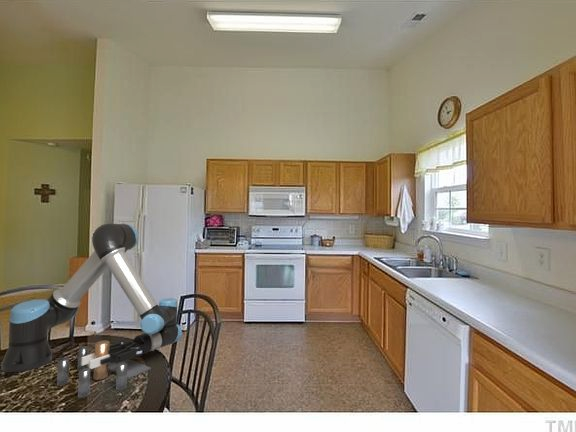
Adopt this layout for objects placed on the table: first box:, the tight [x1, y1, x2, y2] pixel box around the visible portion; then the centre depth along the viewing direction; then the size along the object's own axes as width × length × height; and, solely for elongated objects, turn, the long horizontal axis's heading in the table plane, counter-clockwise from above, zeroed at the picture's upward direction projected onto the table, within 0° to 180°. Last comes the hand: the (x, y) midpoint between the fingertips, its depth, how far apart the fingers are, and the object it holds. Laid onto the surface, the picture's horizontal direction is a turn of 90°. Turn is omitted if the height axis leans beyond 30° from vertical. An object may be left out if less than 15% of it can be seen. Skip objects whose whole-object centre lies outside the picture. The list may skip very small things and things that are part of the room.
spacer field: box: [56, 345, 128, 399], centre depth 107 cm, size 28×12×8 cm, turn 59°
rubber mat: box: [108, 358, 152, 380], centre depth 119 cm, size 17×9×1 cm, turn 59°
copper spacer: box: [93, 339, 110, 381], centre depth 111 cm, size 4×4×12 cm
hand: (85, 363), depth 106 cm, fingers closed on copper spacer, 4 cm apart
